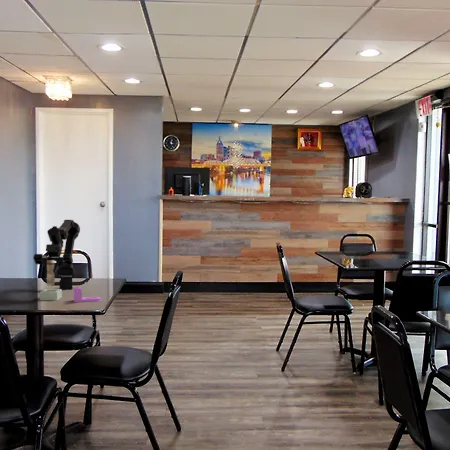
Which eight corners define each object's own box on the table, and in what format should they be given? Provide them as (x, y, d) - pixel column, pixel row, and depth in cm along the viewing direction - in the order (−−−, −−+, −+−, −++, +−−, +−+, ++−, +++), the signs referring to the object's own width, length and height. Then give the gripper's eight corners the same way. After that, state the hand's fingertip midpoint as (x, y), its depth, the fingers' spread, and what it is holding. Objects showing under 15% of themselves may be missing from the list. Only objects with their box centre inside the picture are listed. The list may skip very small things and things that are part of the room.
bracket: (73, 302, 247) (73, 288, 246) (73, 300, 252) (73, 286, 252) (101, 301, 250) (101, 287, 250) (100, 299, 256) (100, 285, 255)
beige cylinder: (53, 284, 258) (53, 259, 257) (55, 285, 255) (55, 260, 254) (45, 284, 255) (45, 260, 255) (48, 285, 252) (48, 261, 252)
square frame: (45, 296, 259) (45, 289, 259) (61, 297, 260) (61, 289, 259) (39, 300, 251) (39, 292, 251) (57, 300, 251) (57, 292, 251)
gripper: (34, 238, 257) (26, 262, 247) (71, 238, 258) (65, 262, 248) (39, 251, 266) (32, 276, 255) (75, 252, 266) (69, 276, 256)
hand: (49, 272), depth 253 cm, fingers closed on beige cylinder, 4 cm apart
